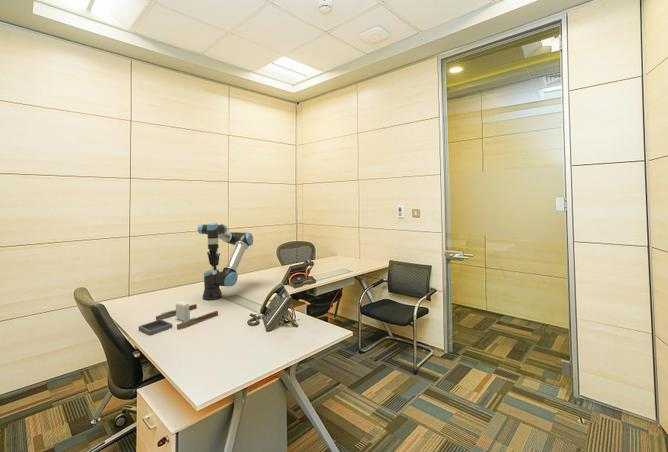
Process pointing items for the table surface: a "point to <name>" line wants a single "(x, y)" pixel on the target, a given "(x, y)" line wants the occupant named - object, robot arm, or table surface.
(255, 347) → the table surface
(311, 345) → the table surface
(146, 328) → the tray
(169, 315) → the brown parallel rails
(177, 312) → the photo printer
